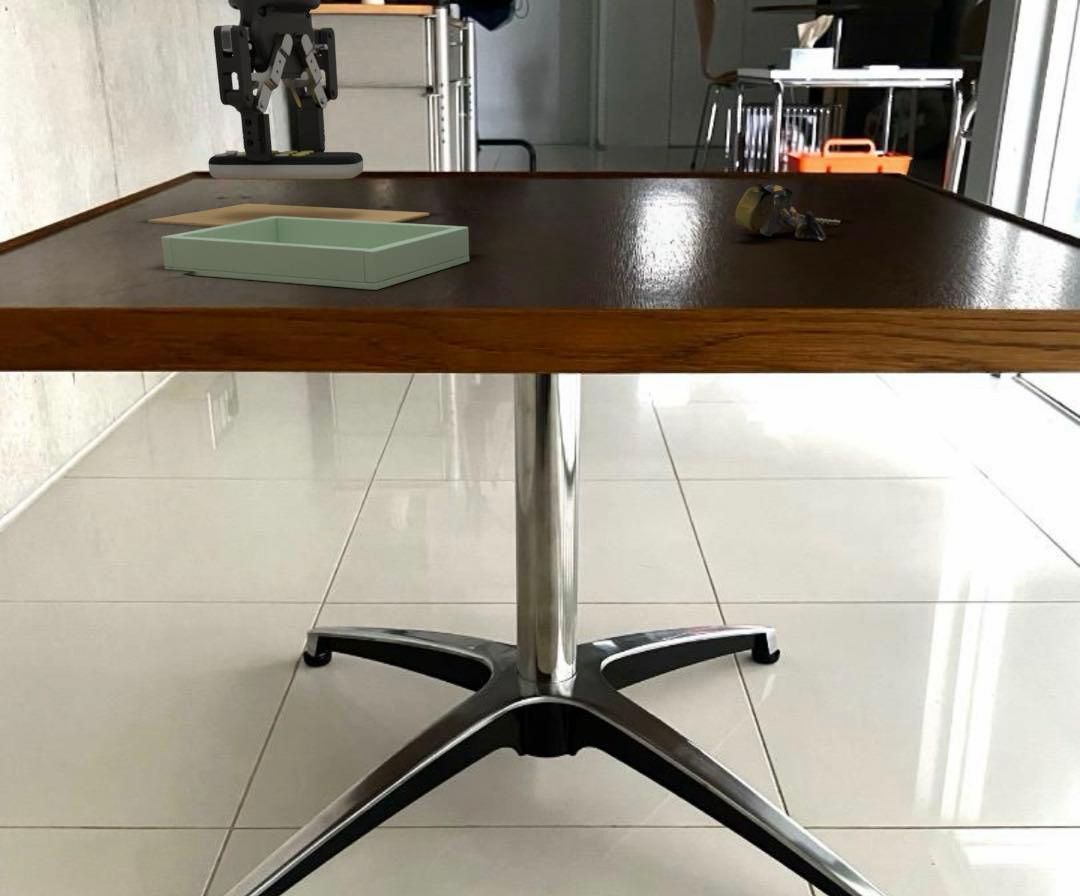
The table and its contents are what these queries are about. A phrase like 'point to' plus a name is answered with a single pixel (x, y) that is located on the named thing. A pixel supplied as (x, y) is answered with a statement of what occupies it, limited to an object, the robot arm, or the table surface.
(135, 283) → the table surface
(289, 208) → the mat
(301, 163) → the remote control
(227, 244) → the tray
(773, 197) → the regulator
